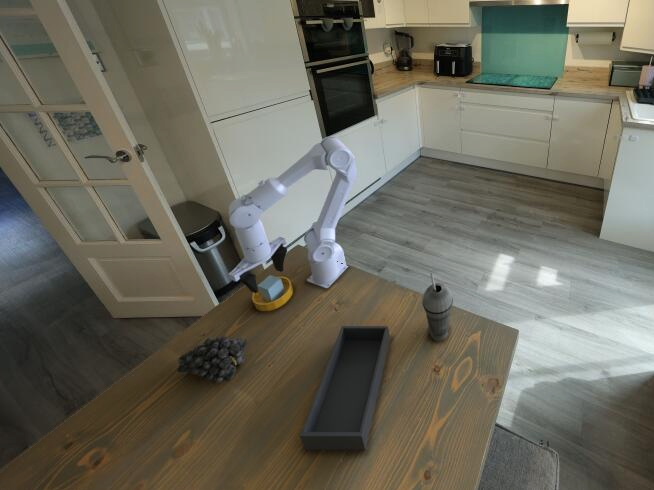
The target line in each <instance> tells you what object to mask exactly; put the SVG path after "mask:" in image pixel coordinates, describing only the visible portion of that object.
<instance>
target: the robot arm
mask: <svg viewBox="0 0 654 490" xmlns="http://www.w3.org/2000/svg"><path fill="white" fill-rule="evenodd" d="M328 166H329V167H330V168H331V169H332V170H334V171H335V175H334V178H333V181H332V183H331V185H330V188H329V191H328V193H327V196H326V198H325V201H324V203H323V206H322V207H321V210H320V213H319V216H318V218H317V221H314V222H313V223H312V225H311V227H310V228H309V229H308V230H307V231H306V232H305V233H304V236H303V241H304V243H305V245H306V247H307V250H308V252H307V255H306V256H307V261H308V265H309V268H310V271H311V275H310V276H309V277H308V278H307V279H306V281H307V282H308V283H310V284H313V285H316V286H318V287H321V288H325V289H329V288H330V286H331V285H332V284H333V283H334V282H335V281H336V280H337V279H338V278H339V277H340V276H341V275H342V274H343V273H344V272H345V271H346V269H347V268H348V267H349V265H348V264H347V263H346V259H345V258H346V257H345V253H344V249H343V248H342V246H341V245H340V244H339V243H337V242H336V228H337V226H338V225H337V224H338V222H339V221H340V217H341V215H342V213H343V210H344V207H345V205H346V203H347V200H348V198H349V195H350V193H351V191H352V188H353V185H354V183H355V181H356V178H357V175H358V170H357V165H356V156H355V155H354V154H353V152H352V151H351V150H350V149H349V148H348V147H347V146H346V145H345V144H344V142H343V141H342V140H341V139H340V138H339V137H337V136H332V135H331V136H325V138H323V139H322V140H321V141H320V142H318V143H316V144H314V145H313V146H312V147H311V148H310V150H308V152H307V153H306V154H305V155H303V156H302V157H301V158H299V159H298V160H297V161H296V162H295V163H293V164H292V165H291V166H290V167H289V168H287V169H286V170H285V171H284V172H283V173H281V174H280V175H279V176H277V177H269V178H267V179H265V180H263V179H262V180H260V181H259V182H258V183H257V184H258V185H257V186H256V187H255V188H253V189H252V190H251V191H250V192H248V193H247V194H243V195H241V196H240V197H239V198H236V199H234V200H233V201H232V202H231V203H230V204H229V207H228V221H229V224H230V225H231V226H232V227H233V229H234V231H235V235H236V238H237V241H238V243H239V245H240V248H241V251H242V253H243V256H244V257H243V258H242V259H241V261H240V262H238V264H237V265H236V267H235V268H233V270H231V271H230V272H229V273H228V277H229V279H230V281H233V282H238V281H239V282H241V283H242V284H243V285H245V286H246V287H247V288H248V290H249V291H250V292H252V293H253V292H254V293H257V292H258V286H257V285H258V284H257V282H256V280H257V279H256V274H254V273H252V272H251V271H250V270H253V269H254V268H256V267H258V266H260V265H262V264H264V263H266V262H267V261H269V259H271V261H272V264H273V268H274V269H275V271H277V272H280V273H282V272H283V271H284V264H285V258H286V255H287V253H288V248H287V247H286V246H285V245H287V241H286V238H285V237H283V236H278V237H277V238H275V239H273V240H271V241H269V239H268V237H267V233H266V230H265V228H264V225H263V224H264V223H263V222H262V221H261V219H260V217H261V215H262V214H263V213H264V212H266V211H267V210H269V208H271V207H272V206H273V205H275V204H276V203H277V202H278V201H280V200H281V199H283V198H284V197H285V196H286V195H287V189H288V188H289V187H291V186H292V185H293V184H295V183H297V182H299V180H301V179H302V178H304V177H305V176H307V175H308V174H310V173H311V172H312V171H314V170H321V171H322V170H323V171H329V167H328ZM337 261H338V262H337ZM341 263H343V264H341ZM347 265H348V266H347Z"/></svg>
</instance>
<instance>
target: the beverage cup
mask: <svg viewBox="0 0 654 490" xmlns="http://www.w3.org/2000/svg"><path fill="white" fill-rule="evenodd" d="M430 279H431V285H429V286H428V287H427V288H426V289H425V291H424V294H423V297H422V302H421V303H422V307H423V309H424V312H425V315H426V320H427V327H428V332H429V334H430V335H429V336H430V337H431V339H432V340H434V341H436V342H440V341H441V342H442V341H443V340H445V339H446V338H447V336H448V335H449V328H450V318H451V317H450V316H451V310H452V306H453V304H454V303H453V301H454V299H453V295H452V292H451V290H450V288H449V287H448V285H446V284H444V283H441V282H435V277H434V273H433V272H430Z"/></svg>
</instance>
